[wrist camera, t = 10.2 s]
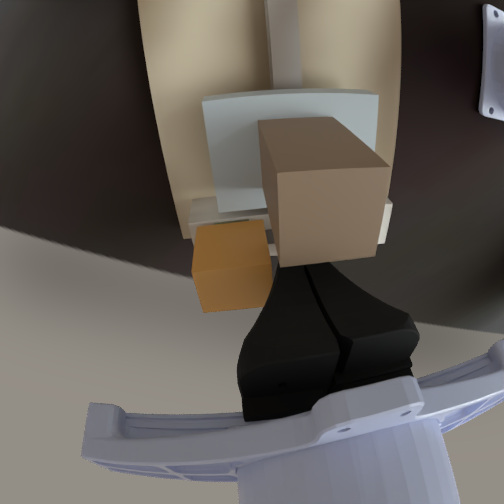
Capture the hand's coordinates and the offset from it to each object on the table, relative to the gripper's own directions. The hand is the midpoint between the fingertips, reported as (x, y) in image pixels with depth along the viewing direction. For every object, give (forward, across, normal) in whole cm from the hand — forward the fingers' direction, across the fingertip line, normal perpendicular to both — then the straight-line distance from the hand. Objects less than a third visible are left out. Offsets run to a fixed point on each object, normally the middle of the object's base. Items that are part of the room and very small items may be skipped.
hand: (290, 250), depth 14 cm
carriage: (+2, 0, -4) cm, 5 cm away
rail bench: (+5, 0, -8) cm, 9 cm away
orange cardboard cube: (+1, +3, 0) cm, 3 cm away
